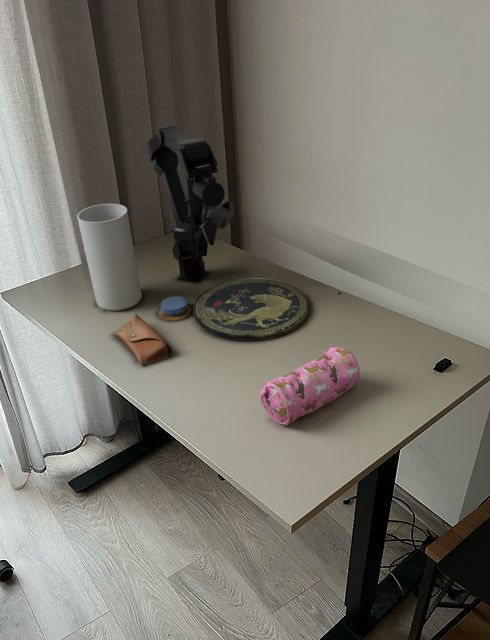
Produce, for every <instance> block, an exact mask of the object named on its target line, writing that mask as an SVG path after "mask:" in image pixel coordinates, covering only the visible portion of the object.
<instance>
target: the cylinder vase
mask: <svg viewBox="0 0 490 640" xmlns="http://www.w3.org/2000/svg"><path fill="white" fill-rule="evenodd" d="M76 217H77V221H78V226H79V231H80V235H81V239H82V244H83V250H84V253H85V258H86V261H87V266H88V267H87V268H88V271H89V275H90V280H91V284H92V289H93V293H94V298H95V303H96V304H97V306H98V307H99V308H101V309H103V310H106V311H111V312H112V311H114V312H116V311H124V310H127V309H130V308H133V307H134V306H136V305H137V304H139V302H140V301H141V300H142V297H143V296H142V294H143V293H142V287H141V284H140V283H141V282H140V276H139V271H138V265H137V258H136V254H135V253H136V252H135V248H134V241H133V236H132V229H131V225H130V224H131V223H130V219H129V212H128V208H127V207H126V206H125V205H122V204H118V203H101V204H96V205H91V206H89V207H86V208H84V209H82V210H81V211H79V212H78V213H77V216H76Z"/></svg>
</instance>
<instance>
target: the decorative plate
mask: <svg viewBox="0 0 490 640" xmlns="http://www.w3.org/2000/svg"><path fill="white" fill-rule="evenodd" d="M308 314H309V303H308V299H307V297H306V296H305V294H304V293H303V292H302V291H301V290H300V289H298V287H296V286H293V285H291V284H290V283H287V282H284V281H282V280H278V279H272V278H264V277H246V278H237V279H232V280H228V281H224V282H220V283H217V284H215V285H213V286H211V287H209V288H208V289H206V290H204V291H203V292H202V293H201V294H200V295H198V297H197V299H195V301H194V303H193V306H192V316H193V319H194V321H195V323H196V324H197V325H198V326H199V327H200V329H202V330H203V331H205V332H206V333H208V334H210V335H212V336H215V337H217V338H220V339H225V340H230V341H237V342H251V341H252V342H253V341H263V340H269V339H273V338H277V337H279V336H283V335H285V334H288V333H289V332H292V331H293V330H295V329H297V328H298V327H300V326H301V325H302V323H303V322H304V321H305V320H306V318H307V317H308Z"/></svg>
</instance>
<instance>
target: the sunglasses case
mask: <svg viewBox="0 0 490 640" xmlns="http://www.w3.org/2000/svg"><path fill="white" fill-rule="evenodd" d="M112 335H113V336H114V337H115V338H117V339H118V340H119V341H120V342H121V343H122V344H123V345H124V346H125V347H126V348H127V350H128V351H130V353H131V354H132V355H133V356H134V357H135V359H136V361H137V362H138V363H139V365H143V366H146V365H149V364H154V363H157V362H160V361H162V360H163V361H164V360H165V359H168V358H169V357H170V356H171V355H172V353H173V349H172V346H170V345H171V344H169V343H168V342H167V341H166V340H165V339H164V337H162V336H161V335H160V334H159V333H158V332H157V331H156V330H155V329H154V328H153V327H152V326H151V325H150V324H149V323H148V322H147V321H146V320H145V319H143V318H142V317H141V316H139V315H138V314H137V313H135V314H134V316H133V317H132V318H131V319H129V320H128V321H127V322H126V323H125V324H124V325H122V326H121V327H120V328H119V329H118V330H117V331H116V332H114V333H112Z"/></svg>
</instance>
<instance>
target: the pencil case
mask: <svg viewBox="0 0 490 640" xmlns="http://www.w3.org/2000/svg"><path fill="white" fill-rule="evenodd" d="M360 378H361V369H360V365H359V362H358V360H357V358H356V356H355V354H353V352H352V351H350V350H349V349H347V348H342V347H339V346H335V347H334V346H331V347H330V348H327V347H326V348H325V349H324V350H323V352H322V354H321V355H320V356H318V357H317V358H315V359H313V360H311V361H310V362H307V363H304V365H303V364H302V365H301V366H299V367H298V368H296V369H294V370H293V371H291V372H289V373H286V374H284V375H281V376H278V377H276V378H274V379H271V380H269V381H267V382H266V383H265V386H263V388H262V389H261V390H260V391H259V395H260V402H261V405H262V407H263V409H264V410H265V412H266V413H267V414H268V416H269V417H270V418H271V419H272V420H273V421H275V422H276V423H277V424H280V425H282V426H289V425H290V424H292V423H294V421H296V420H297V419H299V418H301V417H303V416H307V414H308V415H309V414H310V413H314V412H315V411H317V410H318V409H320V408H322V407H323V406H326V405H328V404H329V403H331V402H333V401H335V400H336V399H338V398H339V397H340V396H342V395H343V394H344V393H346V392H347V391H348V390H350V389H351V388H353V387H355V386H357V385H358V383H359V381H360Z"/></svg>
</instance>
